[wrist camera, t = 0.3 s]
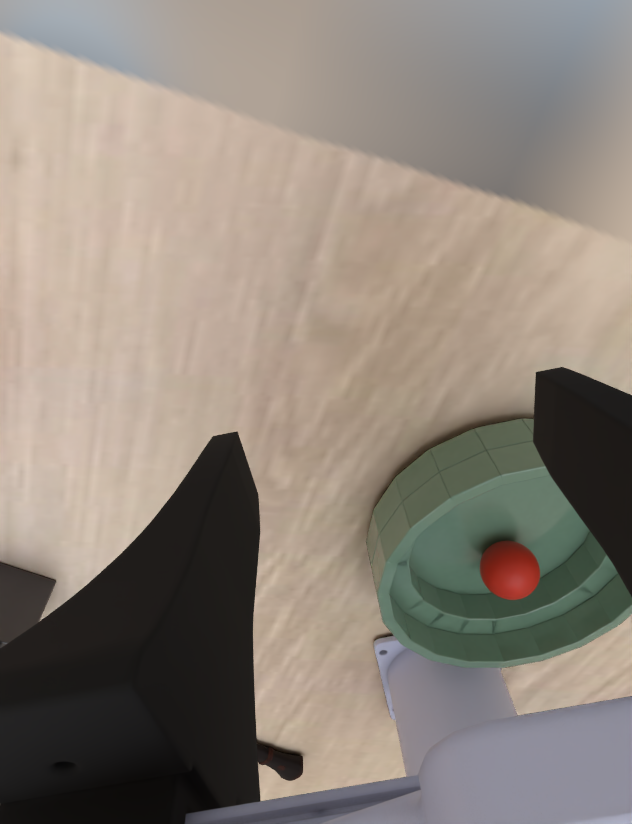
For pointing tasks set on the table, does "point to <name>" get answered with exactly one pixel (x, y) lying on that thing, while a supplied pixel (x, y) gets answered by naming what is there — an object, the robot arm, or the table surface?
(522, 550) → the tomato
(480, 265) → the table surface
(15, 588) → the dark grey cube
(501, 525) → the bowl
